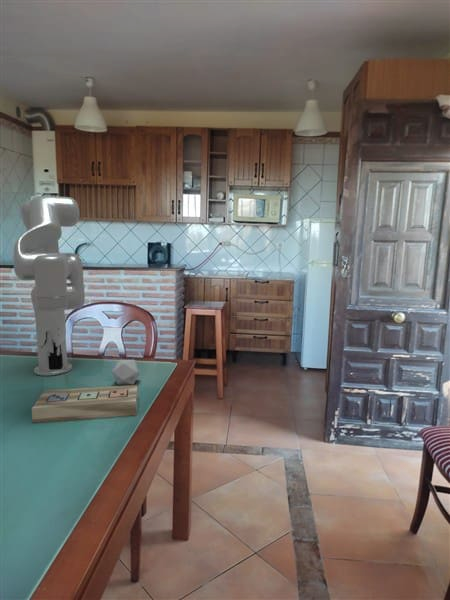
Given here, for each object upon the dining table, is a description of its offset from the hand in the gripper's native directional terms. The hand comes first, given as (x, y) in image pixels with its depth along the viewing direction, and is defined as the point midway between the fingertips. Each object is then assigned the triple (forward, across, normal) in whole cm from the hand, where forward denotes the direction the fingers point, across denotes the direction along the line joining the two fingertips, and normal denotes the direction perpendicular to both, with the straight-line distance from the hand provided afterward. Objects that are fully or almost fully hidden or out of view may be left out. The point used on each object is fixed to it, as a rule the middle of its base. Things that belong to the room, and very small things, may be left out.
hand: (56, 368), depth 104 cm
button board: (+12, +1, +8) cm, 15 cm away
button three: (+11, +1, 0) cm, 11 cm away
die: (+13, -18, +17) cm, 28 cm away
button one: (+11, +1, +8) cm, 14 cm away
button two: (+11, +1, +16) cm, 20 cm away
